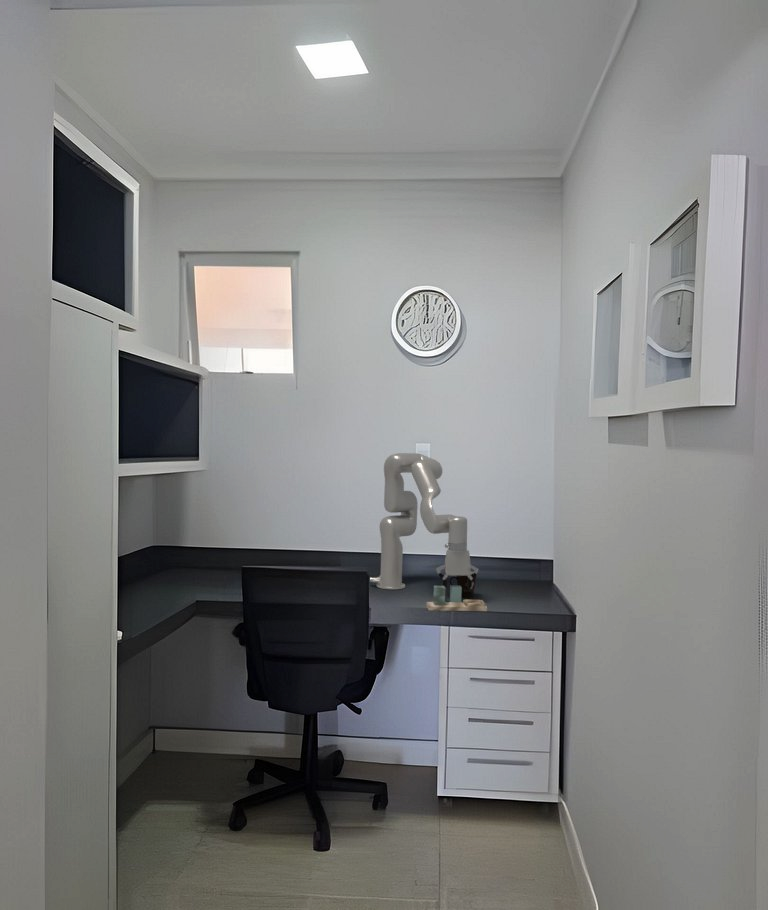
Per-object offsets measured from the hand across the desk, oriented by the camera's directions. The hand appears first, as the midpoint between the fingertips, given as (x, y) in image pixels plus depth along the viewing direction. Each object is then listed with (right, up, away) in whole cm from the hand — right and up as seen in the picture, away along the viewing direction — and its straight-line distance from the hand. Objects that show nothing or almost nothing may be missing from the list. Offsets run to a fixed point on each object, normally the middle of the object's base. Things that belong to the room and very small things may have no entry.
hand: (457, 589), depth 326 cm
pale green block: (-1, -6, +1) cm, 6 cm away
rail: (-1, -6, -8) cm, 10 cm away
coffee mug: (+3, -6, +15) cm, 16 cm away
